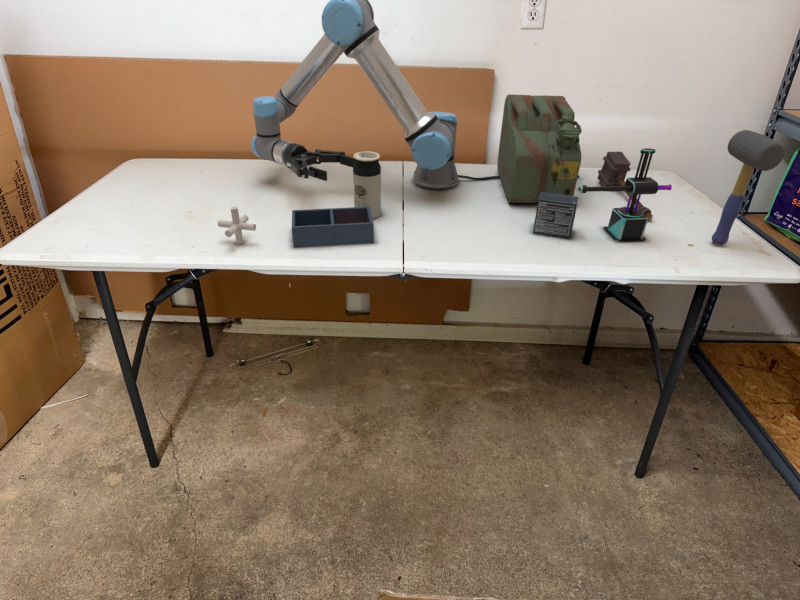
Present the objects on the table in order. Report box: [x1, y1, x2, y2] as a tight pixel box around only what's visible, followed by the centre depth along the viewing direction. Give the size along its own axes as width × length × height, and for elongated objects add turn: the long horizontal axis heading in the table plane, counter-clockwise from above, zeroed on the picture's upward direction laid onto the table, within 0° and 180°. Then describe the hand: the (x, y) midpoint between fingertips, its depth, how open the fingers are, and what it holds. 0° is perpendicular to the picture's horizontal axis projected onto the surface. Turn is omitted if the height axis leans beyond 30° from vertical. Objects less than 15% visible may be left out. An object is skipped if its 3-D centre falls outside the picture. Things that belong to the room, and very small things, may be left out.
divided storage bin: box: [291, 206, 375, 248], centre depth 143 cm, size 21×11×6 cm, turn 99°
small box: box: [531, 192, 579, 240], centre depth 146 cm, size 11×6×10 cm, turn 71°
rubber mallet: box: [711, 129, 786, 247], centre depth 136 cm, size 12×8×30 cm, turn 5°
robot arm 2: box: [578, 147, 673, 243], centre depth 141 cm, size 25×9×24 cm, turn 96°
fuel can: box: [496, 94, 583, 204], centre depth 169 cm, size 19×35×27 cm, turn 178°
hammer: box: [597, 151, 654, 221], centre depth 167 cm, size 7×33×10 cm, turn 5°
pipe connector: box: [217, 206, 257, 245], centre depth 138 cm, size 10×10×10 cm
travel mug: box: [352, 150, 382, 220], centre depth 152 cm, size 8×8×18 cm
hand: (342, 169), depth 155 cm, fingers open, 13 cm apart
